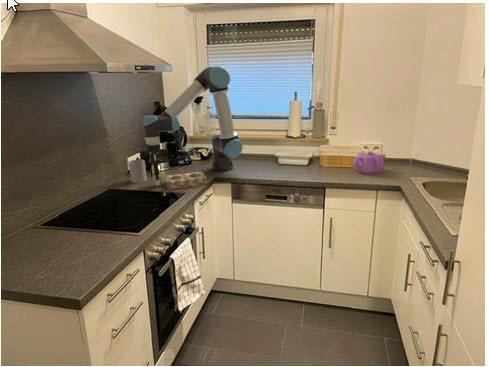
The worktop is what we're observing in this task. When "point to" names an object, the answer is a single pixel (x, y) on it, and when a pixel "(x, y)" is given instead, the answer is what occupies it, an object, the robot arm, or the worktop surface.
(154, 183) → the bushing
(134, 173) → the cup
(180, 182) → the jig
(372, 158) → the teakettle
